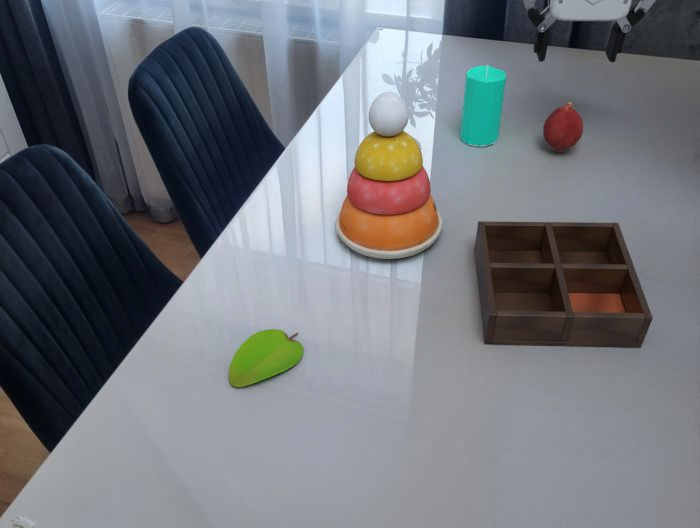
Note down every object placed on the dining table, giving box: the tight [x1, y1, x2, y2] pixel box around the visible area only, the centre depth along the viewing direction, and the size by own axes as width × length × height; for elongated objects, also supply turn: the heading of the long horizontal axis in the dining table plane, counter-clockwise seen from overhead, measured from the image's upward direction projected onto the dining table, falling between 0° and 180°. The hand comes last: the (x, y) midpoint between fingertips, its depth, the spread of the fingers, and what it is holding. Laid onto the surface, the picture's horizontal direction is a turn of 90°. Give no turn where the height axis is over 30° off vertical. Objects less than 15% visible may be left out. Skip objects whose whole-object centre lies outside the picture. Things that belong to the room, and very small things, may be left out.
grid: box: [473, 220, 653, 349], centre depth 81 cm, size 17×17×5 cm
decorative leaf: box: [228, 328, 304, 388], centre depth 76 cm, size 8×9×1 cm
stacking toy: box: [335, 91, 443, 260], centre depth 86 cm, size 14×14×20 cm
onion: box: [542, 101, 584, 153], centre depth 103 cm, size 6×6×8 cm
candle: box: [459, 63, 507, 146], centre depth 105 cm, size 6×6×12 cm
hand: (574, 57), depth 96 cm, fingers open, 9 cm apart
